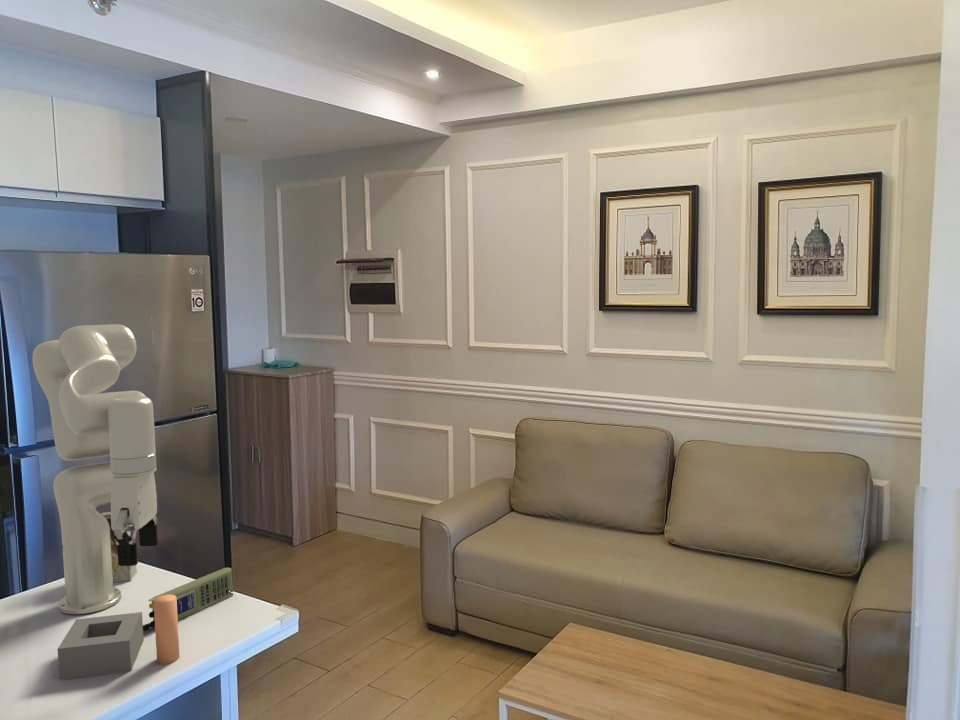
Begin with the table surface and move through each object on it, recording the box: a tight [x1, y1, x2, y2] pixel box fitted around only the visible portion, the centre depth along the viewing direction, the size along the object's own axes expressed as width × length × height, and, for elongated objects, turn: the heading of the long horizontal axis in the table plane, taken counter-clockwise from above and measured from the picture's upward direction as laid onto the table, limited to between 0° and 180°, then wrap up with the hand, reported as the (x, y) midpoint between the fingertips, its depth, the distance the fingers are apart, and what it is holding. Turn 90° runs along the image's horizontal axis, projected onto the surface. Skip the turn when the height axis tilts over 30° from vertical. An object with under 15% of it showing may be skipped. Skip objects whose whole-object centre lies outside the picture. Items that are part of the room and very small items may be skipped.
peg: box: [154, 595, 180, 665], centre depth 138 cm, size 4×4×12 cm
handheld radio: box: [143, 567, 234, 633], centre depth 157 cm, size 7×3×25 cm
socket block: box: [57, 611, 144, 681], centre depth 139 cm, size 12×12×6 cm
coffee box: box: [98, 510, 138, 583], centre depth 177 cm, size 9×6×16 cm
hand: (138, 555), depth 133 cm, fingers open, 9 cm apart
